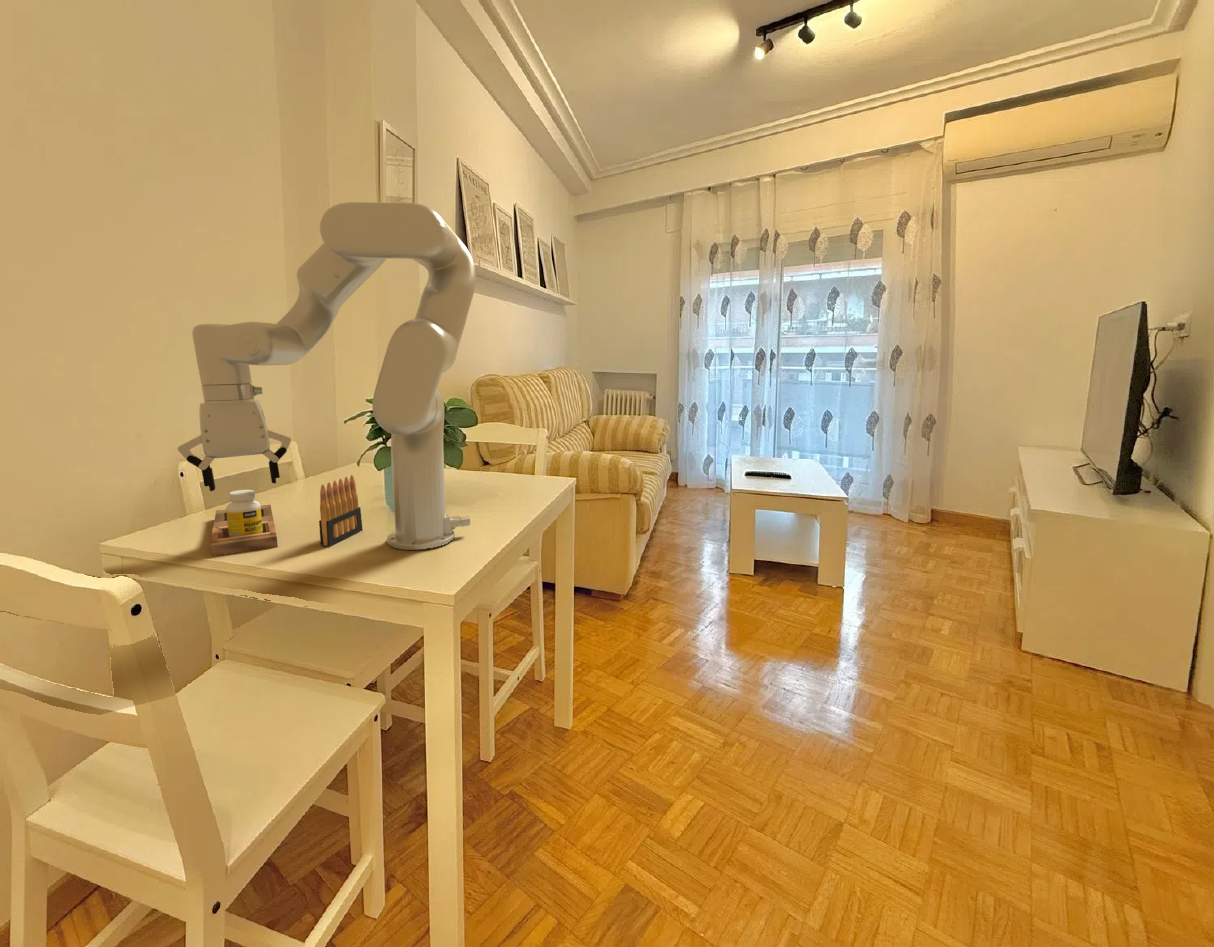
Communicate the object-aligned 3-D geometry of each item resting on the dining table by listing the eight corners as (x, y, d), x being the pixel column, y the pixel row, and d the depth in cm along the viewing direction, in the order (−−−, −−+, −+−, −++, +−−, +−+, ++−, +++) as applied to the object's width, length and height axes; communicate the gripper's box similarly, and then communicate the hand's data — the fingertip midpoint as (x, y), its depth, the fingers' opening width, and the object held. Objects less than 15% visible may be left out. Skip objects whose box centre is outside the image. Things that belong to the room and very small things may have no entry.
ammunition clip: (329, 547, 99) (323, 485, 97) (320, 546, 99) (314, 485, 97) (362, 530, 110) (358, 474, 107) (354, 529, 110) (350, 473, 107)
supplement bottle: (247, 547, 98) (241, 496, 96) (222, 544, 99) (216, 494, 97) (270, 538, 103) (265, 489, 101) (247, 535, 104) (241, 487, 102)
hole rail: (271, 513, 120) (270, 503, 119) (277, 546, 99) (276, 535, 98) (217, 519, 114) (215, 509, 114) (211, 556, 93) (210, 544, 93)
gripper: (282, 391, 103) (295, 476, 107) (170, 396, 94) (188, 489, 97) (285, 393, 97) (298, 482, 101) (165, 398, 88) (184, 497, 91)
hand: (244, 485), depth 99 cm, fingers open, 9 cm apart
